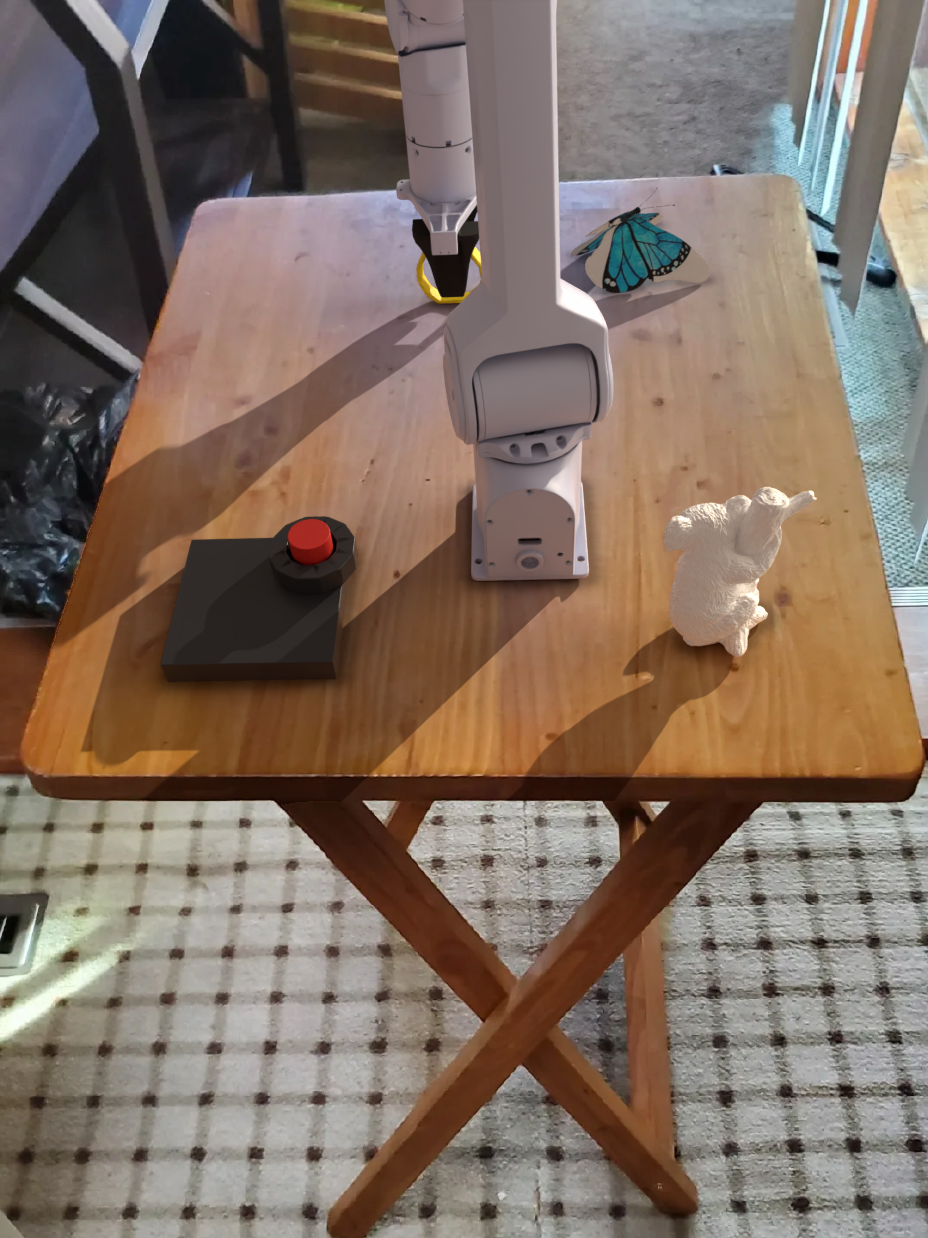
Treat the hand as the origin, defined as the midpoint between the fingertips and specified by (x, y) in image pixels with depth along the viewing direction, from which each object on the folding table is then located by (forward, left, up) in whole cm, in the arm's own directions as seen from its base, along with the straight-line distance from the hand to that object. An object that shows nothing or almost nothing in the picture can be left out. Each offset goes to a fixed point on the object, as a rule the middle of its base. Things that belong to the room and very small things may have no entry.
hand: (452, 284), depth 94 cm
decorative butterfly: (+4, -16, -2) cm, 17 cm away
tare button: (-33, +9, +1) cm, 34 cm away
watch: (0, 0, -2) cm, 2 cm away
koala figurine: (-38, -18, -2) cm, 42 cm away
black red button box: (-36, +12, -2) cm, 38 cm away
